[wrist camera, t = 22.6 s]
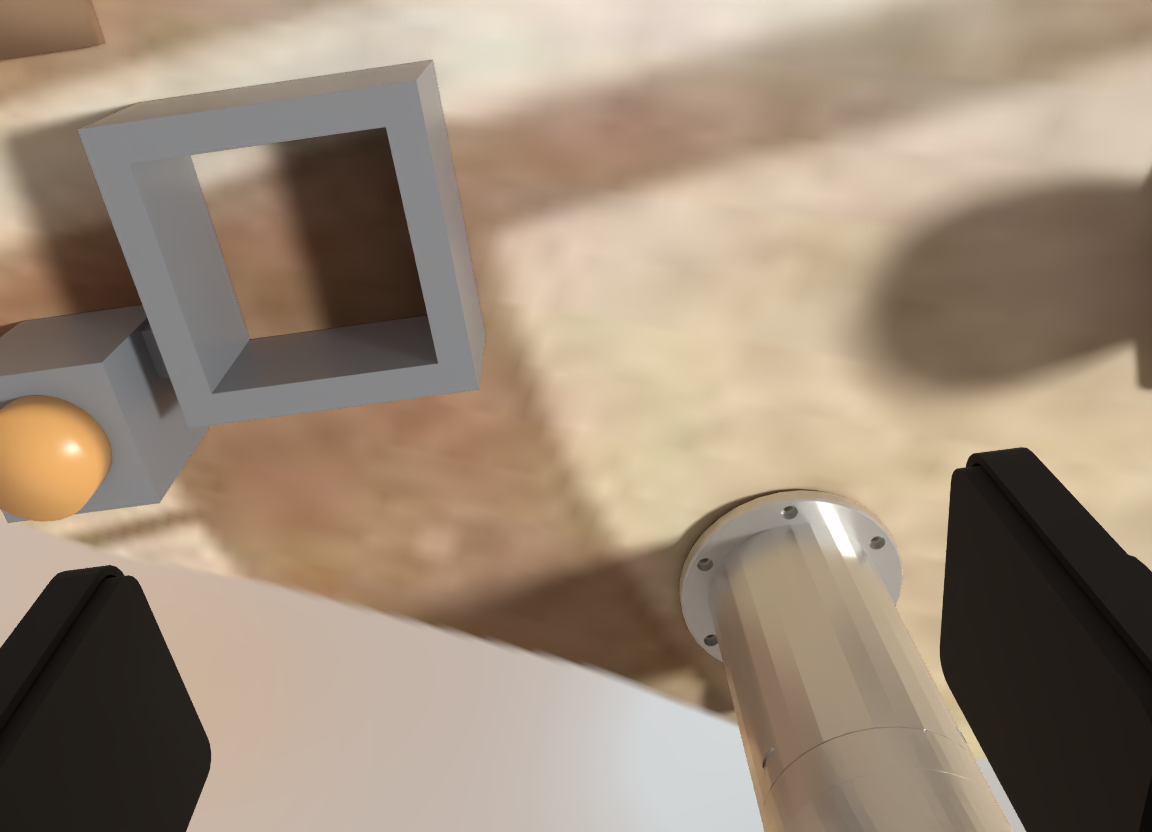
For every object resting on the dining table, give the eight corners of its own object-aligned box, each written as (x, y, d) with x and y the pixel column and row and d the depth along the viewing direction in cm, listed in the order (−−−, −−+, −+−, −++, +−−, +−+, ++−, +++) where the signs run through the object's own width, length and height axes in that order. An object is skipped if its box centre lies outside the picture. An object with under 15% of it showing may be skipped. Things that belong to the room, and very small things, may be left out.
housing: (496, 390, 48) (489, 459, 41) (76, 446, 48) (7, 522, 42) (432, 59, 40) (413, 84, 34) (-63, 131, 41) (-171, 168, 35)
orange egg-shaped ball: (161, 443, 45) (110, 513, 40) (60, 457, 45) (-4, 528, 40) (124, 349, 43) (65, 409, 37) (18, 363, 43) (-56, 426, 37)
